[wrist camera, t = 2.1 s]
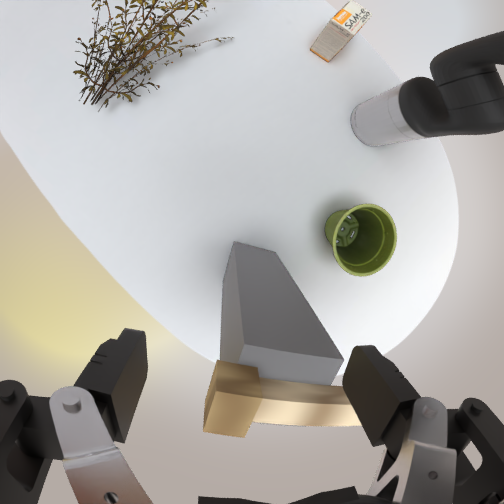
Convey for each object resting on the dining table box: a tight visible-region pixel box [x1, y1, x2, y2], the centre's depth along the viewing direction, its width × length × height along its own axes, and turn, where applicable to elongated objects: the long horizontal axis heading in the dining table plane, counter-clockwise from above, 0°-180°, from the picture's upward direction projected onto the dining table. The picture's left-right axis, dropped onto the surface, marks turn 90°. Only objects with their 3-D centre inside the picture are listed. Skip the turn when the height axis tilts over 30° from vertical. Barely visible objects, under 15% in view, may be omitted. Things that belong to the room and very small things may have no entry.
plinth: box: [220, 241, 344, 426], centre depth 36 cm, size 8×8×34 cm
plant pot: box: [325, 204, 397, 276], centre depth 47 cm, size 12×12×11 cm
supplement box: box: [310, 0, 372, 62], centre depth 37 cm, size 8×5×13 cm, turn 145°
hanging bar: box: [203, 360, 361, 438], centre depth 19 cm, size 18×4×3 cm, turn 74°
